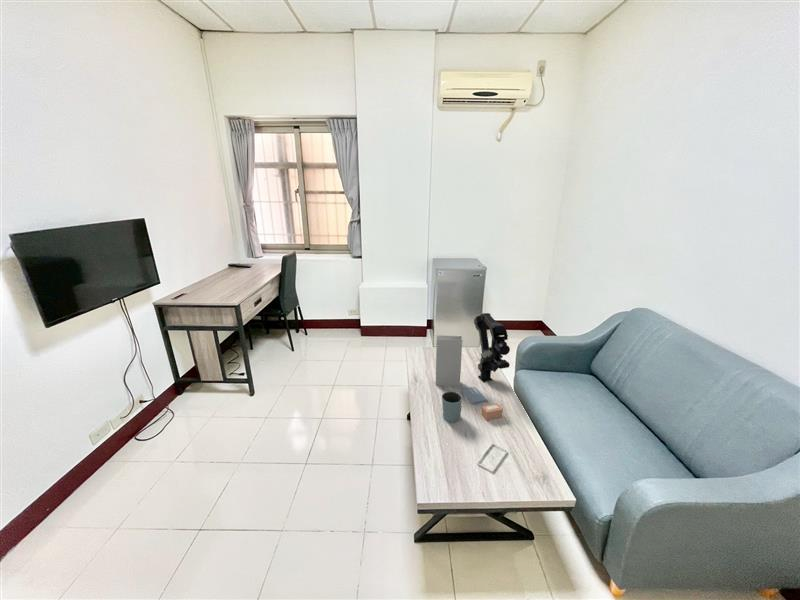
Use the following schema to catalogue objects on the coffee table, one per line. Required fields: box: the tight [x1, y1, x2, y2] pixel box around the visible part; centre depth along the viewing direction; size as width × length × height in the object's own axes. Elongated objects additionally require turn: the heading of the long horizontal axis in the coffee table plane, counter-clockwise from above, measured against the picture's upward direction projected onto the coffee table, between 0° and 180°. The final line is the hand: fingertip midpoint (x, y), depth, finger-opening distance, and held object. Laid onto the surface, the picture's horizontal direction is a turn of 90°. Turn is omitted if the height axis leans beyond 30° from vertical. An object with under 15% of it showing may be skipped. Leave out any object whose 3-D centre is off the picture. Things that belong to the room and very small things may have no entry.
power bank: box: [476, 442, 508, 474], centre depth 142 cm, size 7×1×15 cm
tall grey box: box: [435, 334, 463, 387], centre depth 193 cm, size 14×6×30 cm, turn 84°
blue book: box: [460, 386, 489, 405], centre depth 185 cm, size 14×9×1 cm, turn 16°
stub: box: [480, 402, 504, 422], centre depth 168 cm, size 5×9×5 cm, turn 106°
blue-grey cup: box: [441, 390, 463, 423], centre depth 167 cm, size 10×10×12 cm
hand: (494, 371), depth 187 cm, fingers closed
